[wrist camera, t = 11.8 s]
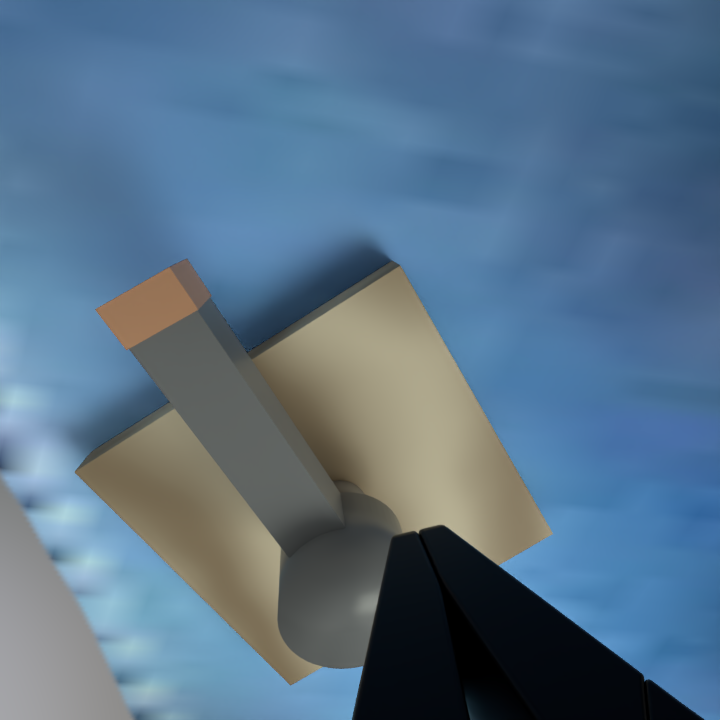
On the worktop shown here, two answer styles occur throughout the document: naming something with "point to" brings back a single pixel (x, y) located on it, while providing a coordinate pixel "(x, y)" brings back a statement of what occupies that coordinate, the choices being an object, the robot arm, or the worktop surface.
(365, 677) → the robot arm
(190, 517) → the stud base
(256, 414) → the grey elongated piece
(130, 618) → the worktop surface
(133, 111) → the worktop surface
